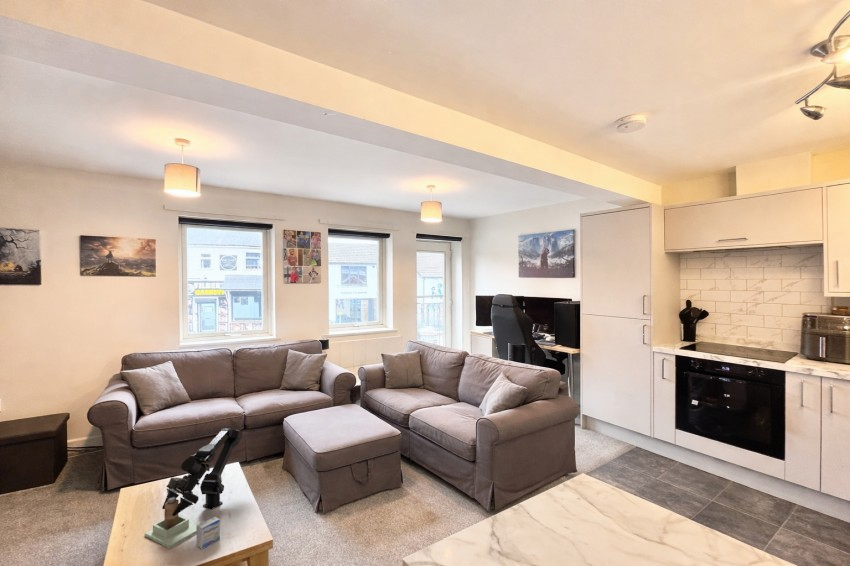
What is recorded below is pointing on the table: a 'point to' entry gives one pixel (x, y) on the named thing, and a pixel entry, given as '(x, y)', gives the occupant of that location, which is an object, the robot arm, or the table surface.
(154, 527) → the sage tray
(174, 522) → the pepper mill
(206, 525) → the medicine box
